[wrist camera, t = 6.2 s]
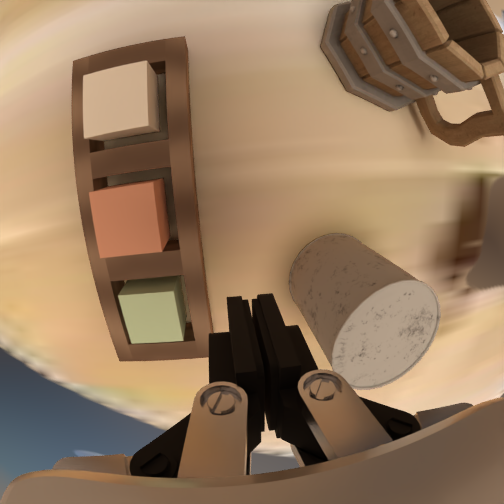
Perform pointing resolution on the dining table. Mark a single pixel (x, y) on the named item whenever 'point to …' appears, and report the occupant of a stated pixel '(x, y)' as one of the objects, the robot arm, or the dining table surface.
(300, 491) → the robot arm
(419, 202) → the dining table surface
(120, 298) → the sage key
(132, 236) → the terracotta key
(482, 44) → the tankard
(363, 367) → the grey stone cylinder
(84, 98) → the cream key
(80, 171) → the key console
